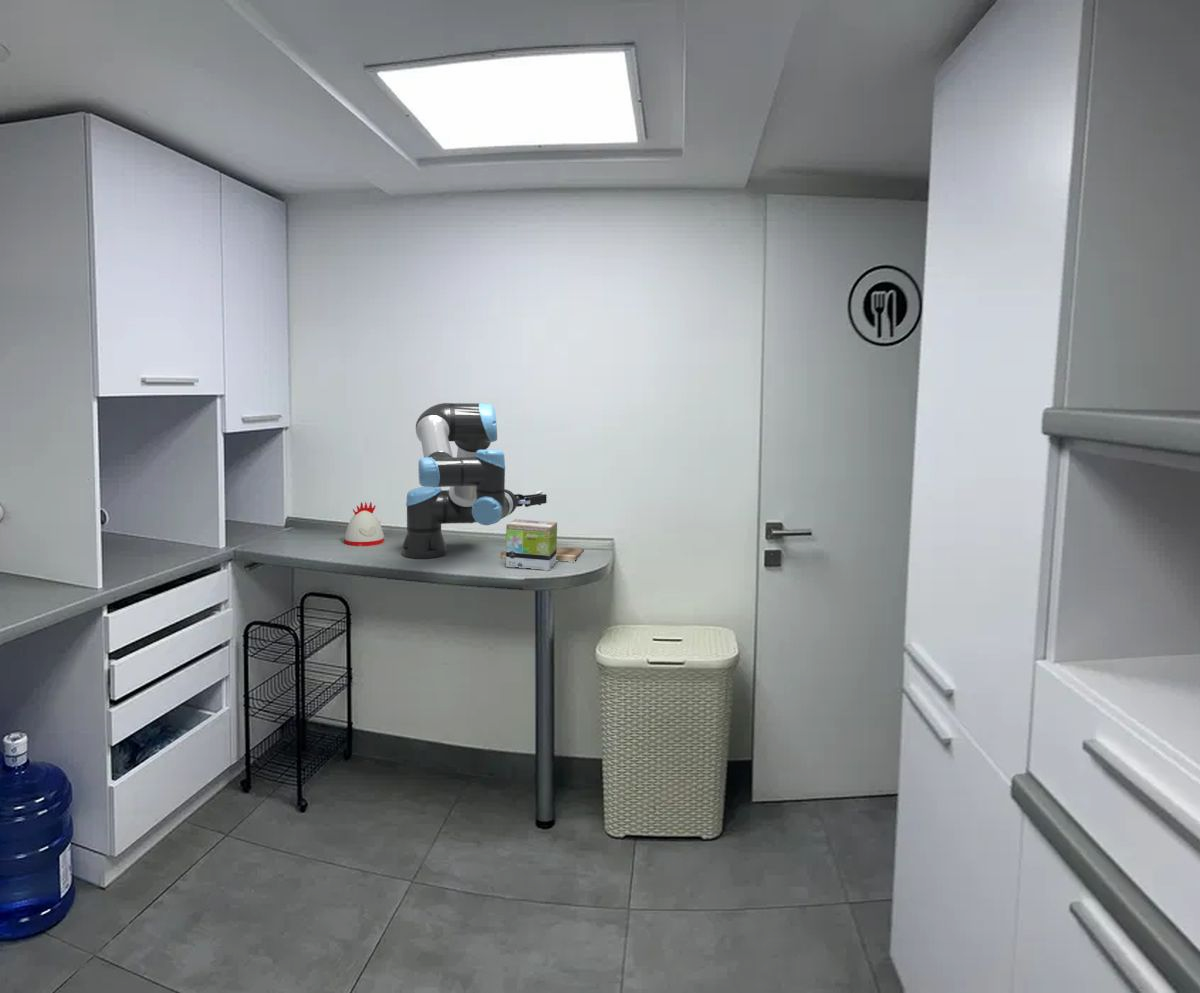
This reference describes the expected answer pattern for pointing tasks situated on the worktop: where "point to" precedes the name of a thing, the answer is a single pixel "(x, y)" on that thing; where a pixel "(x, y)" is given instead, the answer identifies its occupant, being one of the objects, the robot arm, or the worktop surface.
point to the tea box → (531, 544)
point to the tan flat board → (561, 554)
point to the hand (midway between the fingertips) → (519, 494)
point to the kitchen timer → (364, 528)
